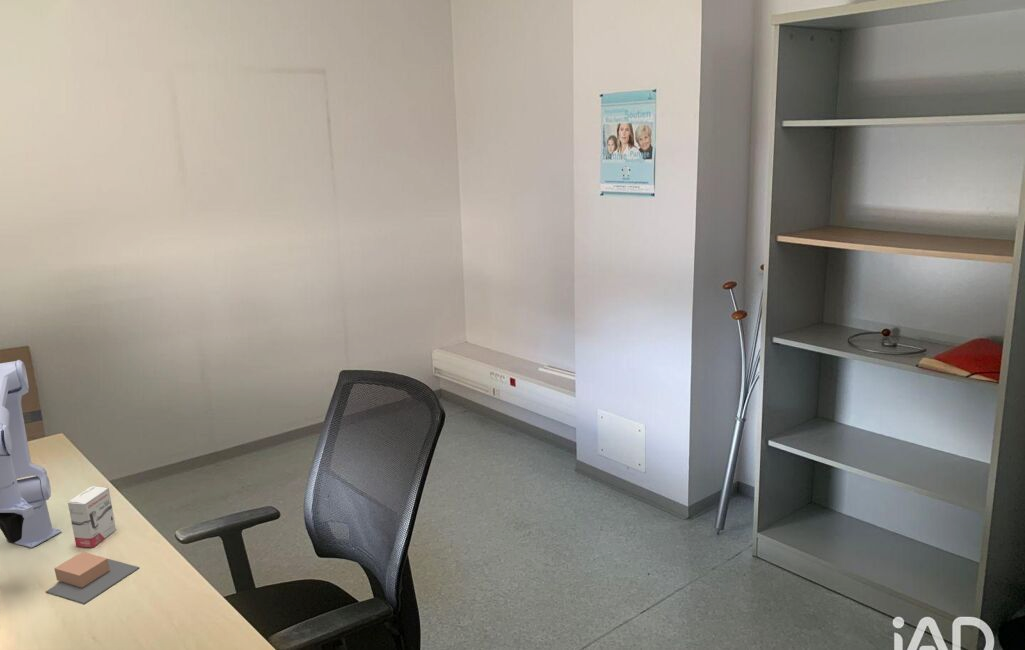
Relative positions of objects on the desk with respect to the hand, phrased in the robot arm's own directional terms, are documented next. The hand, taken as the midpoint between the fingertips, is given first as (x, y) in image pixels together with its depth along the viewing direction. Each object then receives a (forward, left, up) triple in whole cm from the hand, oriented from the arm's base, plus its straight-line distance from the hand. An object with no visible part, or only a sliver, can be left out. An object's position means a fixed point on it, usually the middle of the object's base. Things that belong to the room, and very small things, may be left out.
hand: (15, 540), depth 170 cm
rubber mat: (+14, +6, -10) cm, 18 cm away
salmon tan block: (+7, +6, -8) cm, 12 cm away
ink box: (-1, +19, -11) cm, 22 cm away
